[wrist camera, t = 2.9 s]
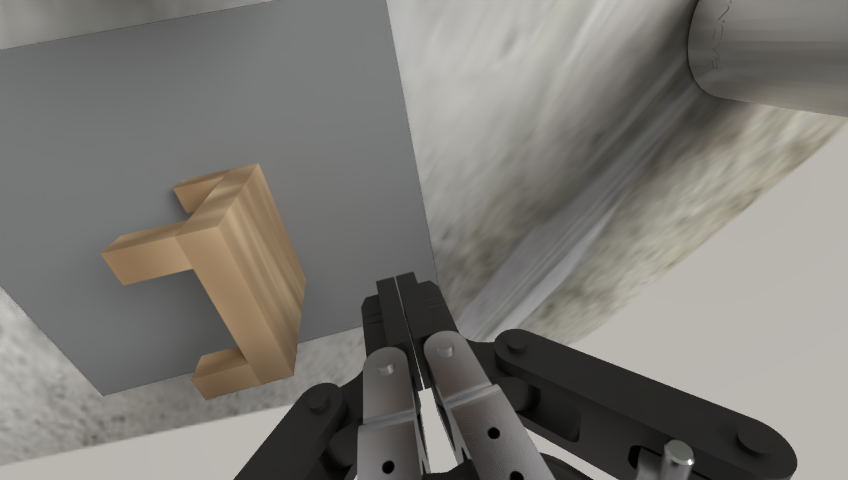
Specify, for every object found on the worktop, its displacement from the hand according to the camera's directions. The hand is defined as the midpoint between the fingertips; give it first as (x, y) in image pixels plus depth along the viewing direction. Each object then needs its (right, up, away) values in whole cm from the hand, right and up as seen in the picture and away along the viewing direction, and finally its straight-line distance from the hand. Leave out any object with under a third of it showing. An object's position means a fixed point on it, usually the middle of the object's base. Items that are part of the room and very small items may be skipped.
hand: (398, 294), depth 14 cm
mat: (-11, +3, +7) cm, 14 cm away
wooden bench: (-9, +2, +8) cm, 12 cm away
